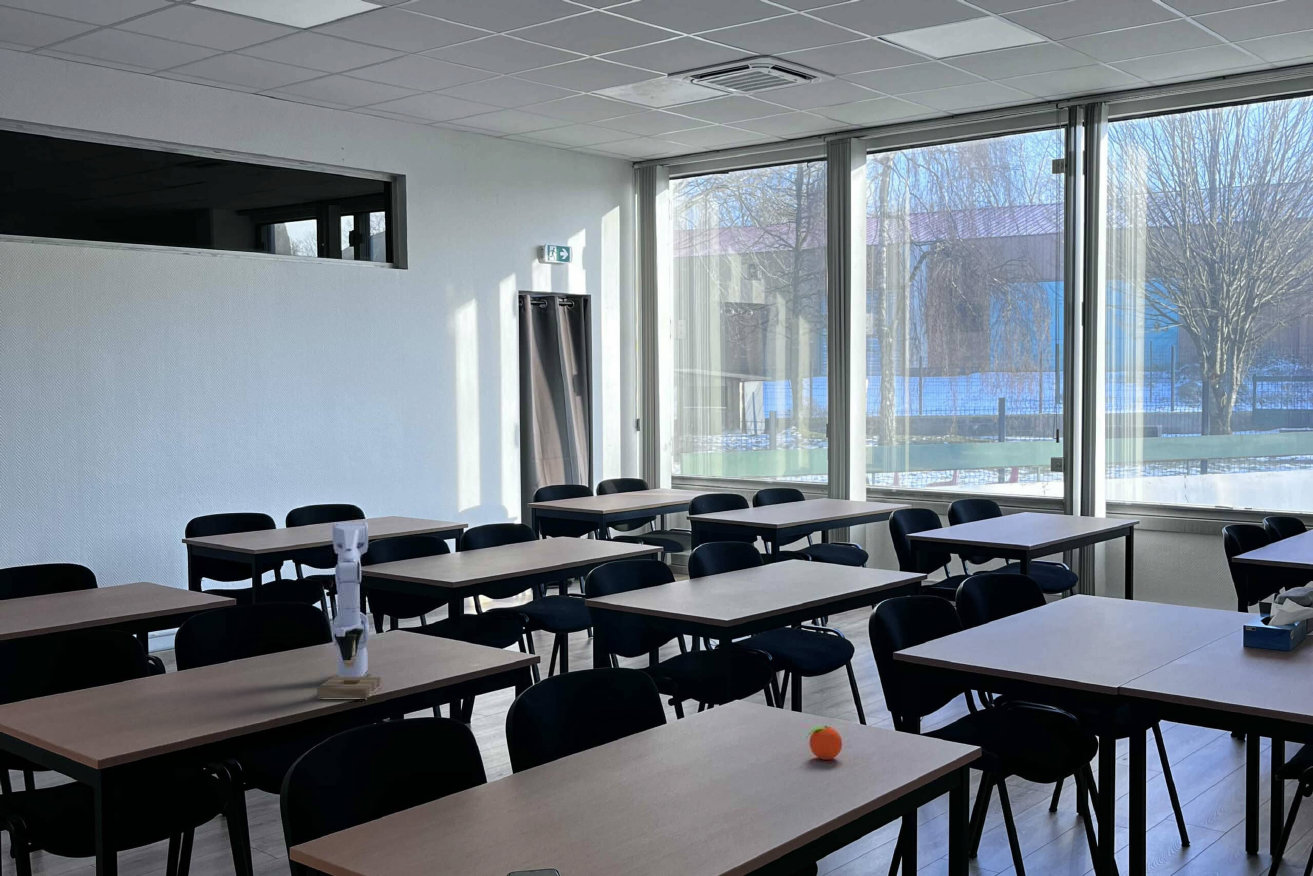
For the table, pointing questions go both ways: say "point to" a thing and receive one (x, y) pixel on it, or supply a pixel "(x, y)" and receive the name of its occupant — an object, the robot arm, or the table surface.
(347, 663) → the peg
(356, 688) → the board
